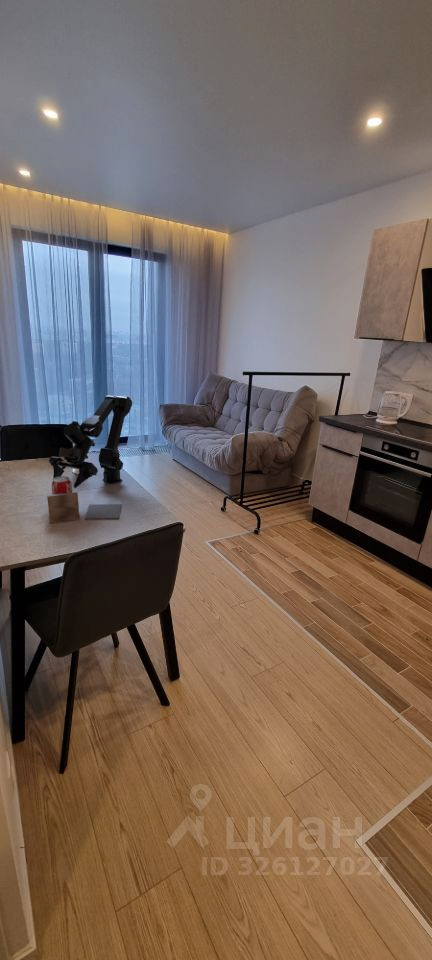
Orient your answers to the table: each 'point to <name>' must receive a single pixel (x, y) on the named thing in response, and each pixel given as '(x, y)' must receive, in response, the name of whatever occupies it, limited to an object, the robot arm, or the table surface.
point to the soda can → (61, 485)
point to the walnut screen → (63, 507)
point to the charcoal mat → (103, 511)
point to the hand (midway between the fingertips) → (64, 485)
